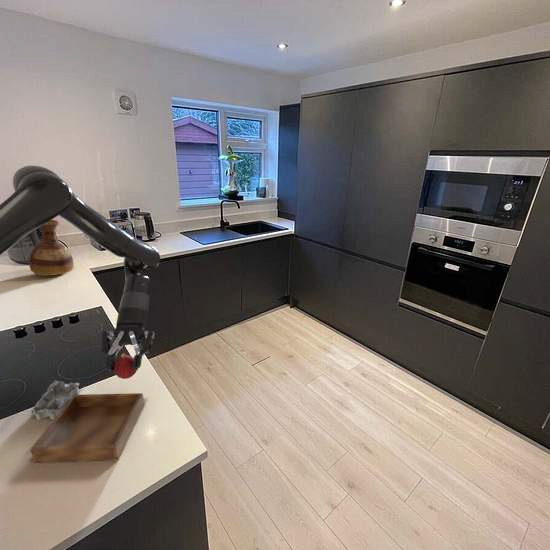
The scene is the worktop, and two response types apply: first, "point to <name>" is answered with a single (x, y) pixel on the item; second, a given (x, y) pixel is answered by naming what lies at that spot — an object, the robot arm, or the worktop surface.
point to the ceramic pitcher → (49, 252)
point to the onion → (124, 367)
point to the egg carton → (55, 399)
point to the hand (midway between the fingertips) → (123, 369)
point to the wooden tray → (90, 428)
